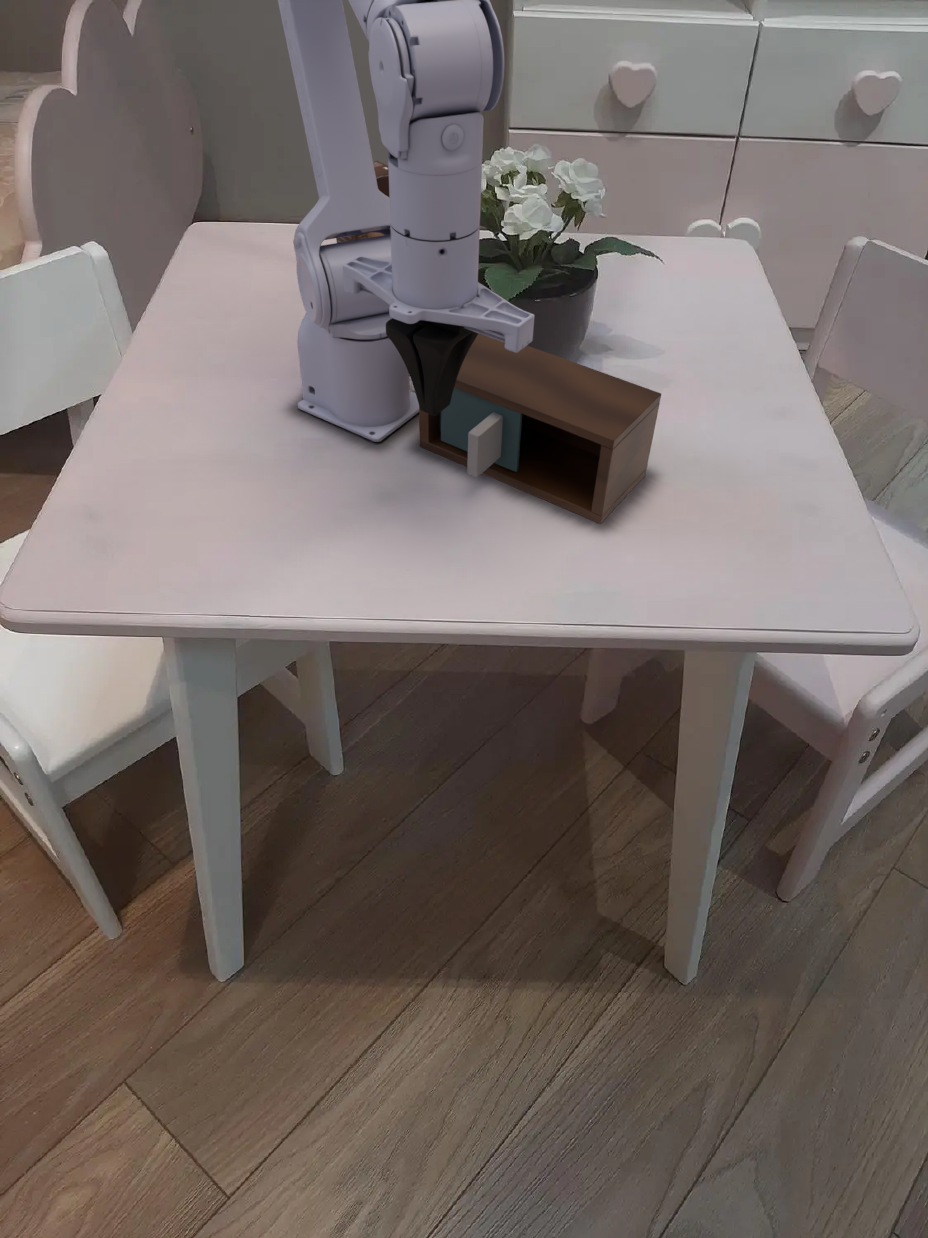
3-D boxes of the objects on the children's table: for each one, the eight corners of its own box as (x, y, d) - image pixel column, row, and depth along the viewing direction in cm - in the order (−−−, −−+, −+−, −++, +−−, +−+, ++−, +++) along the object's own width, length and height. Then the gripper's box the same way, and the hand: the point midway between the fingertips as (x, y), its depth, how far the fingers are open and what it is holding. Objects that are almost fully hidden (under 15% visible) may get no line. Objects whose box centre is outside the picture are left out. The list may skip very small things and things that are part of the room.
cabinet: (600, 524, 75) (614, 440, 69) (419, 446, 82) (418, 364, 76) (645, 475, 80) (662, 393, 74) (470, 405, 87) (473, 325, 81)
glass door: (492, 493, 76) (495, 433, 71) (415, 460, 79) (414, 400, 74) (518, 470, 78) (522, 410, 74) (442, 438, 81) (443, 379, 77)
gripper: (306, 214, 60) (324, 398, 70) (496, 276, 54) (487, 467, 64) (375, 181, 64) (383, 359, 74) (557, 235, 59) (540, 420, 68)
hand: (435, 406), depth 69 cm, fingers closed
